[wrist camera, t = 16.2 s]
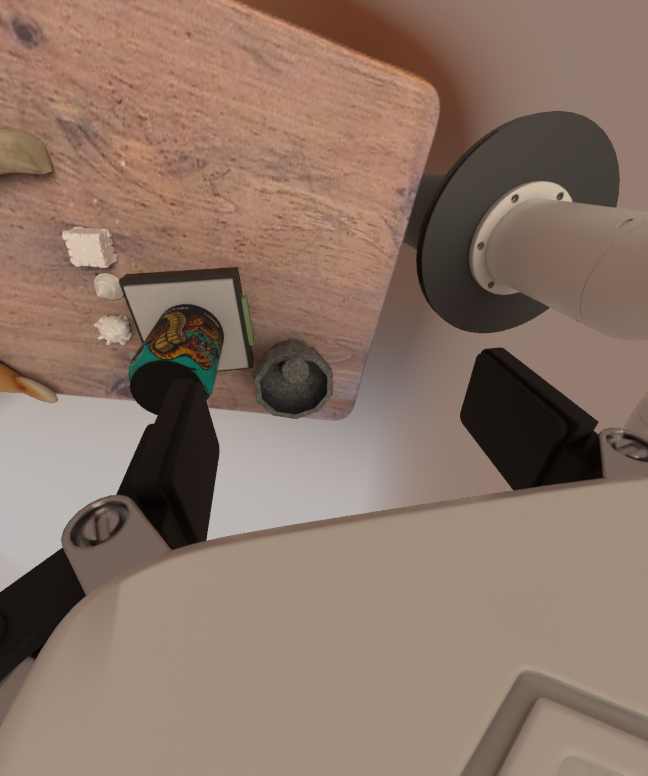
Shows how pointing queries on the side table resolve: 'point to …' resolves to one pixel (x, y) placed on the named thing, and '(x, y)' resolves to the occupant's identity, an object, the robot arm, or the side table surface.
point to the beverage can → (176, 355)
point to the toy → (24, 385)
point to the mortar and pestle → (293, 380)
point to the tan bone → (22, 153)
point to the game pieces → (94, 252)
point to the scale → (202, 289)
